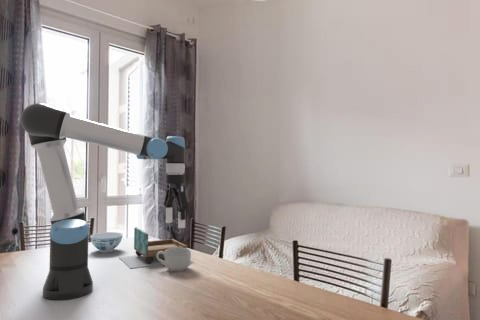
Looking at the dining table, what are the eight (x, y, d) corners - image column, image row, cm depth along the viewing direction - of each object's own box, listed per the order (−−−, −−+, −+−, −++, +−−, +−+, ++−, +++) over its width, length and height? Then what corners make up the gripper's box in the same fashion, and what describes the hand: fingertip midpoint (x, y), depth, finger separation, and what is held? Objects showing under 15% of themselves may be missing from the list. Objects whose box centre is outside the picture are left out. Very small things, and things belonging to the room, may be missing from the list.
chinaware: (128, 250, 176) (129, 234, 176) (103, 256, 163) (103, 239, 163) (109, 245, 184) (109, 231, 184) (83, 251, 171) (83, 235, 171)
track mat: (188, 260, 159) (188, 259, 159) (130, 268, 145) (130, 268, 145) (172, 251, 175) (172, 250, 175) (119, 258, 161) (119, 257, 161)
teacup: (193, 266, 149) (193, 247, 149) (186, 274, 139) (187, 254, 139) (161, 265, 151) (161, 246, 151) (152, 272, 140) (153, 252, 140)
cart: (186, 258, 159) (187, 229, 159) (145, 264, 149) (146, 233, 149) (172, 250, 174) (172, 224, 174) (133, 255, 163) (134, 227, 163)
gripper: (196, 174, 137) (196, 229, 137) (172, 173, 158) (172, 220, 158) (178, 175, 133) (178, 231, 132) (156, 173, 154) (156, 221, 153)
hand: (175, 225), depth 145 cm, fingers open, 13 cm apart
